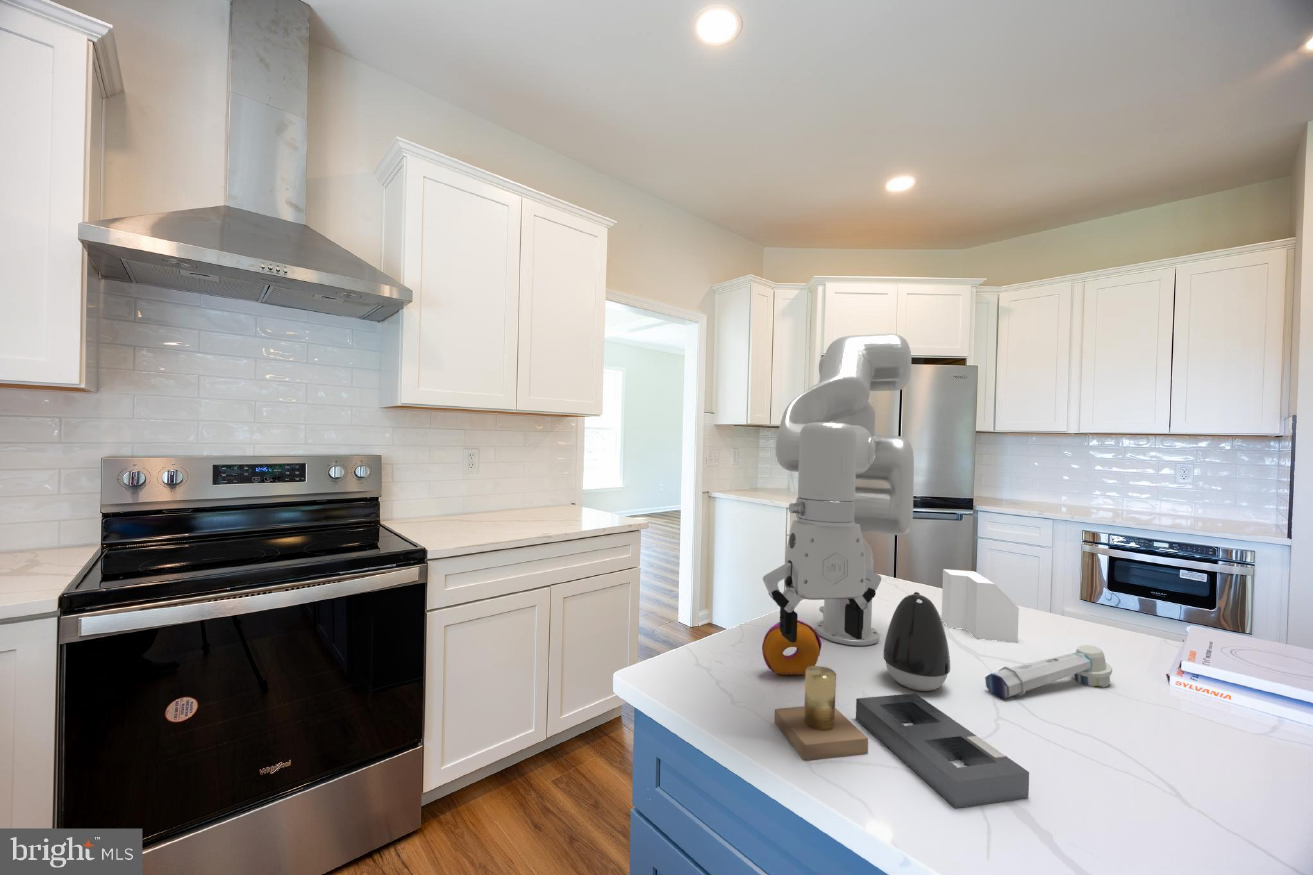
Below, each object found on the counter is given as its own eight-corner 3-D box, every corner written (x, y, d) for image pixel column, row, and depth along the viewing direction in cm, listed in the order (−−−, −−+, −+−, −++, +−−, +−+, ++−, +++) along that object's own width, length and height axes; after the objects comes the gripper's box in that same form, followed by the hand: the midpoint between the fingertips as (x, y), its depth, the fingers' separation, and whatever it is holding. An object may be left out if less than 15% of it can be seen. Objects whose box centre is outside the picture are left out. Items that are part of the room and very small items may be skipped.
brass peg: (798, 716, 74) (800, 666, 74) (824, 714, 75) (826, 664, 75) (813, 732, 70) (815, 679, 70) (840, 729, 71) (841, 677, 71)
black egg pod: (946, 677, 92) (949, 591, 92) (952, 704, 82) (955, 608, 82) (883, 665, 96) (886, 583, 96) (881, 689, 87) (884, 598, 87)
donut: (771, 661, 96) (772, 607, 96) (823, 673, 92) (824, 617, 92) (758, 678, 90) (759, 620, 90) (813, 692, 85) (815, 631, 85)
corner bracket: (941, 620, 122) (943, 569, 122) (995, 625, 120) (996, 573, 120) (958, 637, 112) (960, 581, 112) (1017, 642, 109) (1019, 585, 109)
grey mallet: (980, 666, 88) (1085, 634, 95) (983, 705, 88) (1088, 669, 96) (1009, 680, 83) (1118, 645, 90) (1012, 721, 83) (1121, 682, 91)
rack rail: (855, 718, 77) (856, 697, 77) (914, 712, 79) (915, 691, 79) (955, 808, 59) (956, 780, 59) (1028, 797, 61) (1029, 770, 61)
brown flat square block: (774, 722, 76) (774, 708, 76) (830, 717, 78) (831, 703, 78) (805, 760, 67) (805, 744, 67) (867, 753, 69) (868, 738, 69)
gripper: (779, 515, 66) (774, 651, 66) (898, 516, 70) (894, 645, 70) (755, 508, 74) (751, 630, 73) (864, 509, 78) (861, 626, 77)
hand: (821, 637), depth 72 cm, fingers open, 9 cm apart
